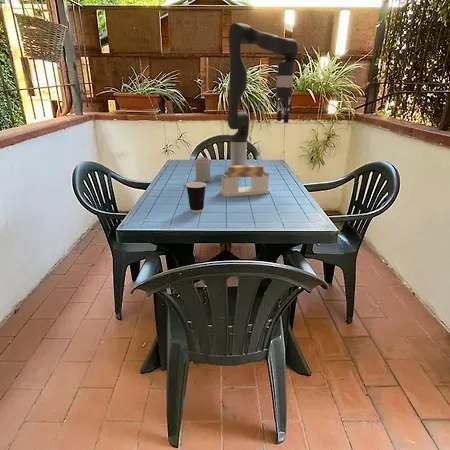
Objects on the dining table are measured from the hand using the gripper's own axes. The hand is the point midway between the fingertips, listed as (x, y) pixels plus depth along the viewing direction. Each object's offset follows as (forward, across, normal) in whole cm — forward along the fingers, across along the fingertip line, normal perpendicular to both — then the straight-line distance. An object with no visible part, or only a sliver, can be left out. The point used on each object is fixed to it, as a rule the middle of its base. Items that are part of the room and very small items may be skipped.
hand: (282, 121), depth 170 cm
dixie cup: (+30, +33, -49) cm, 66 cm away
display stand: (+30, +14, -23) cm, 40 cm away
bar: (+22, +14, -23) cm, 35 cm away
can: (+30, -12, -38) cm, 50 cm away
